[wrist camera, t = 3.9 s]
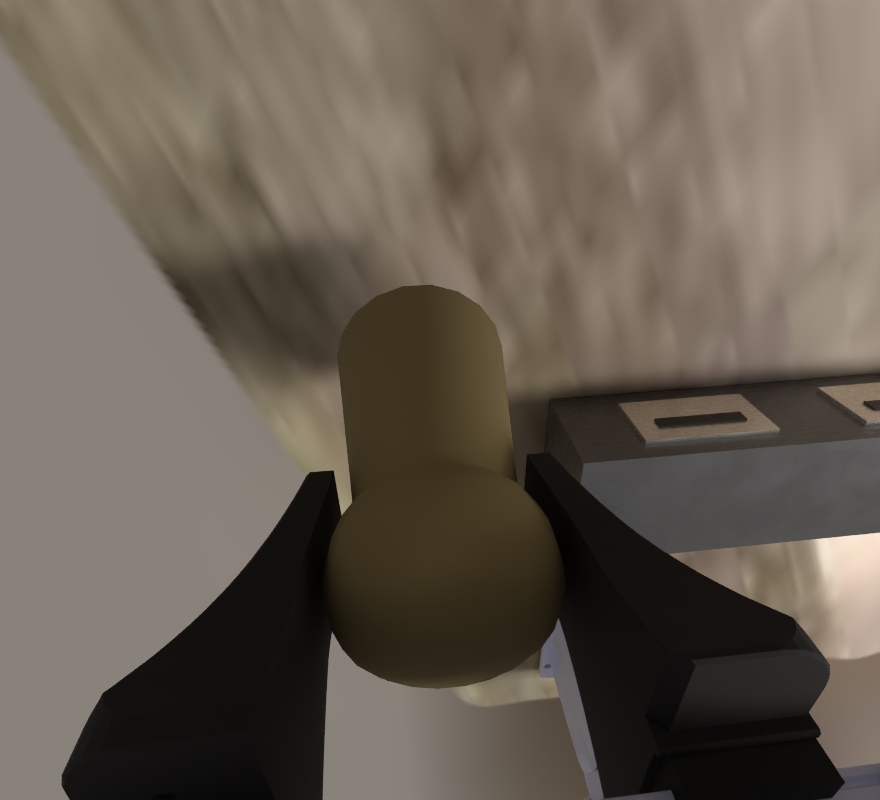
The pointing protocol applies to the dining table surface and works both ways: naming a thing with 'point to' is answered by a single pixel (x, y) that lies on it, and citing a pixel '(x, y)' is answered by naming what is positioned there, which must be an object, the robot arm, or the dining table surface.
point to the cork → (435, 501)
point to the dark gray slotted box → (729, 460)
